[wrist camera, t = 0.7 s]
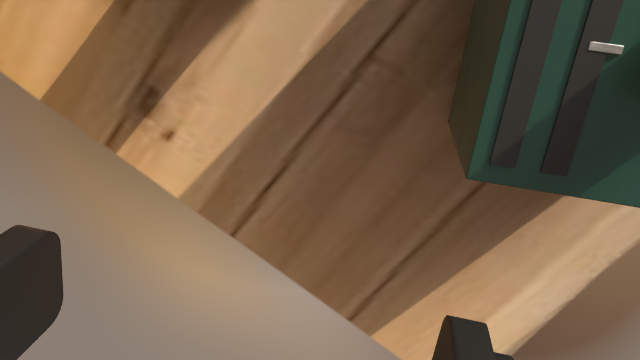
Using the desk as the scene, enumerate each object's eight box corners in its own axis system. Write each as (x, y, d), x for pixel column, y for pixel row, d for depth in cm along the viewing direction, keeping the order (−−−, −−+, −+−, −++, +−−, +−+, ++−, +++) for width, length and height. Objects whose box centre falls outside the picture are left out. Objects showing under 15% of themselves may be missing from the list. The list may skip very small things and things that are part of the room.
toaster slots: (541, -38, 22) (542, -38, 22) (631, -27, 21) (632, -27, 21) (489, 163, 25) (489, 164, 25) (565, 176, 25) (566, 176, 25)
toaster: (490, -71, 31) (533, -95, 21) (706, -45, 30) (863, -56, 20) (447, 121, 36) (466, 180, 25) (634, 151, 35) (731, 224, 24)
